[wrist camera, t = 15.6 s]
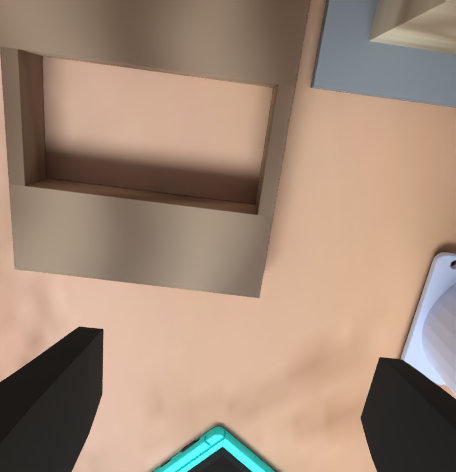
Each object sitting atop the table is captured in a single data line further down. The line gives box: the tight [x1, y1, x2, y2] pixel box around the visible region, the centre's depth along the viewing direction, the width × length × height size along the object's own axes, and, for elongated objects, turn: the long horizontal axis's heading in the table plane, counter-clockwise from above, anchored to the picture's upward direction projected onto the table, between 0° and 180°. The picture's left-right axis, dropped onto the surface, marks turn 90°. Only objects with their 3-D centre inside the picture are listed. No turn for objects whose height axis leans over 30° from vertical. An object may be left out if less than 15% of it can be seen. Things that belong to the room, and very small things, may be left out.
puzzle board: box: [0, 0, 310, 298], centre depth 15 cm, size 12×22×2 cm, turn 173°
